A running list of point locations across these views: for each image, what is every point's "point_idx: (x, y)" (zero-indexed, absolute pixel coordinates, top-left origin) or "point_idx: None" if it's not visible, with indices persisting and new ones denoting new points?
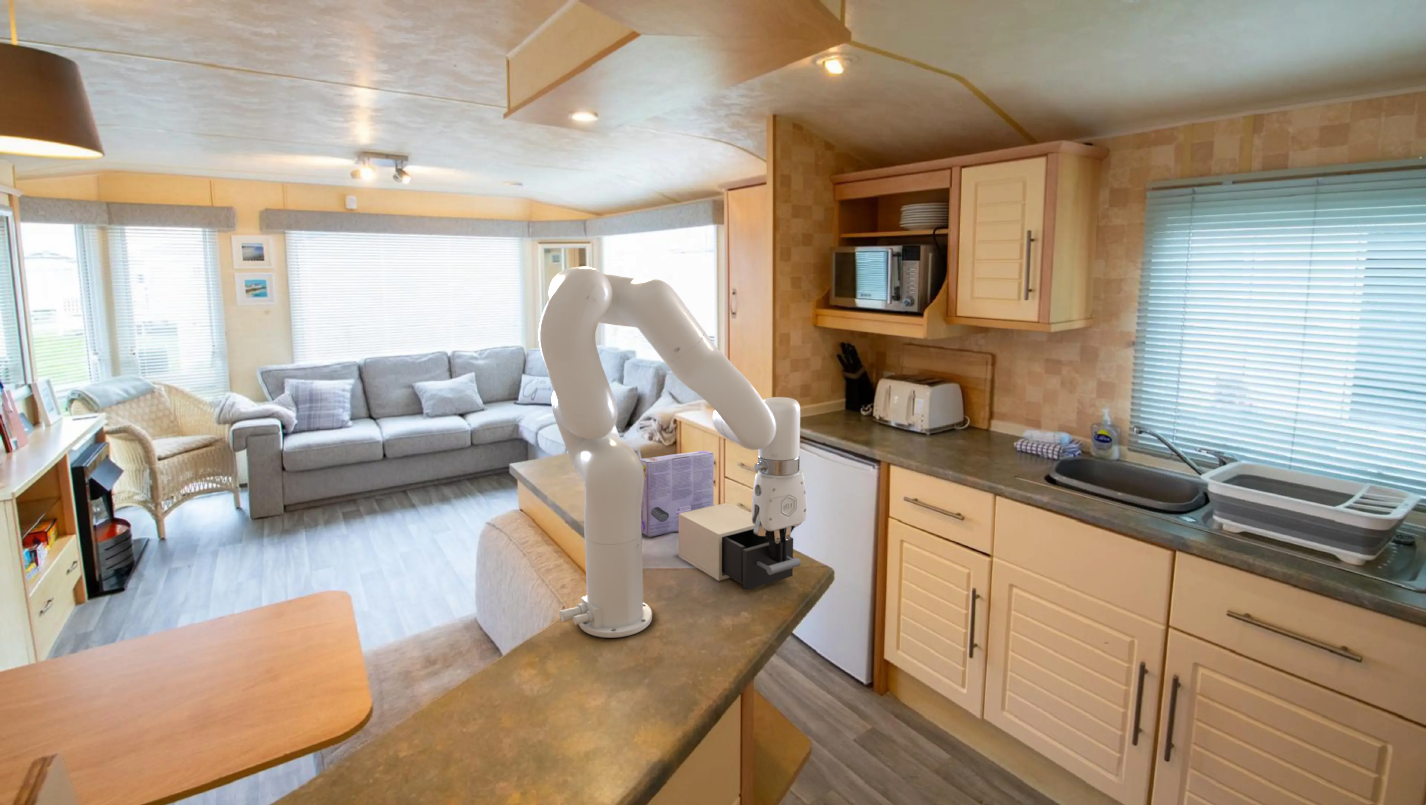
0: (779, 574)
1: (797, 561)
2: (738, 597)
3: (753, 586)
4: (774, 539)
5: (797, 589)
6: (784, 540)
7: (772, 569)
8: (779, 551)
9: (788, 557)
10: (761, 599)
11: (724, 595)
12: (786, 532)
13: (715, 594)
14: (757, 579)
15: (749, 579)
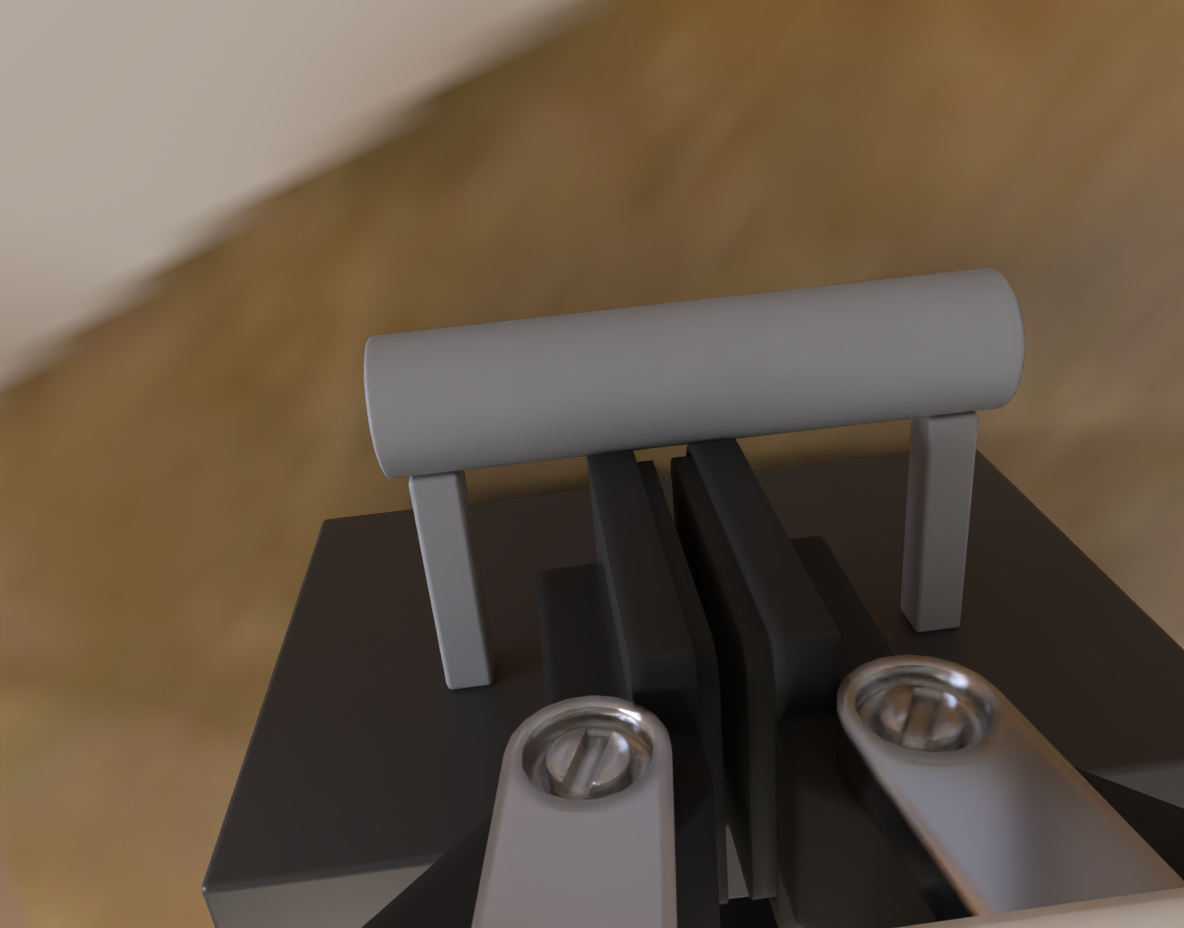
0: (520, 528)
1: (426, 359)
2: (1036, 421)
3: (885, 463)
4: (1028, 730)
5: (400, 292)
6: (647, 720)
7: (992, 287)
8: (785, 545)
9: (460, 561)
10: (886, 277)
11: (1106, 511)
12: (656, 855)
13: (1152, 561)
14: (854, 500)
15: (986, 499)
